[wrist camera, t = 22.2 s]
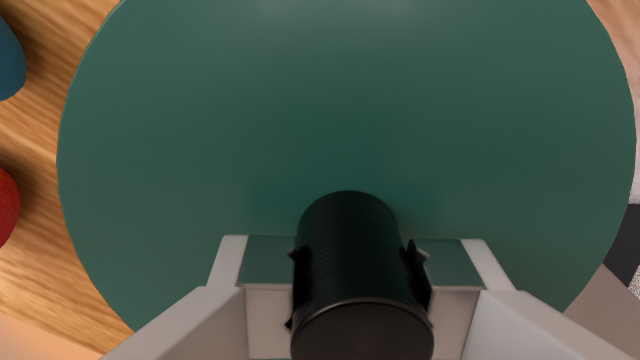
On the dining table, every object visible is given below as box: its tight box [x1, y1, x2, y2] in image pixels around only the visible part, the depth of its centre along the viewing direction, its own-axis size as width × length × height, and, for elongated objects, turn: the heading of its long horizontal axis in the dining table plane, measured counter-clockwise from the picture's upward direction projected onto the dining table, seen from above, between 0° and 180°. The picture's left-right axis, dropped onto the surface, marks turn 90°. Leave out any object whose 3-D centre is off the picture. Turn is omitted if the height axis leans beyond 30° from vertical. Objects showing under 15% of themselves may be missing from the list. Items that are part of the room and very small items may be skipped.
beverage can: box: [562, 263, 640, 360], centre depth 28 cm, size 5×5×12 cm
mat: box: [602, 204, 640, 288], centre depth 33 cm, size 12×12×1 cm
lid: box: [56, 0, 637, 360], centre depth 9 cm, size 13×13×5 cm
